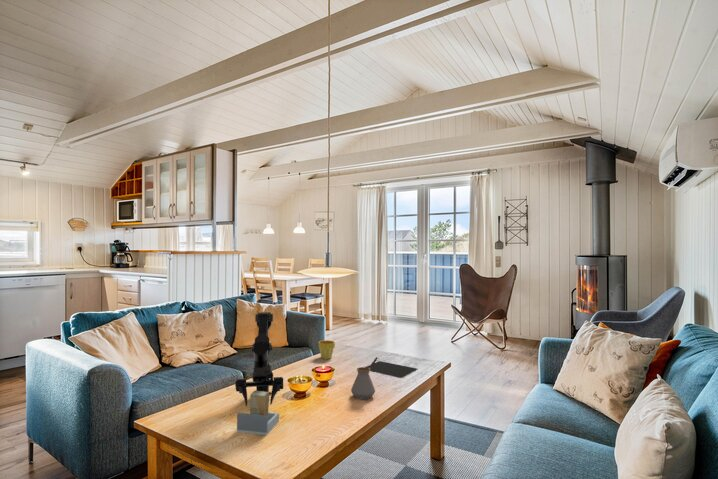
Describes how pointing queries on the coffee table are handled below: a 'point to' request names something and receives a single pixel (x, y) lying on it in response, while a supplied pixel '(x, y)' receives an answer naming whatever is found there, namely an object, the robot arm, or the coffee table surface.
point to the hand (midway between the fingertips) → (258, 404)
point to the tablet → (391, 369)
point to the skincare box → (259, 403)
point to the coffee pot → (363, 383)
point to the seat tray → (256, 423)
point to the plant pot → (326, 348)
